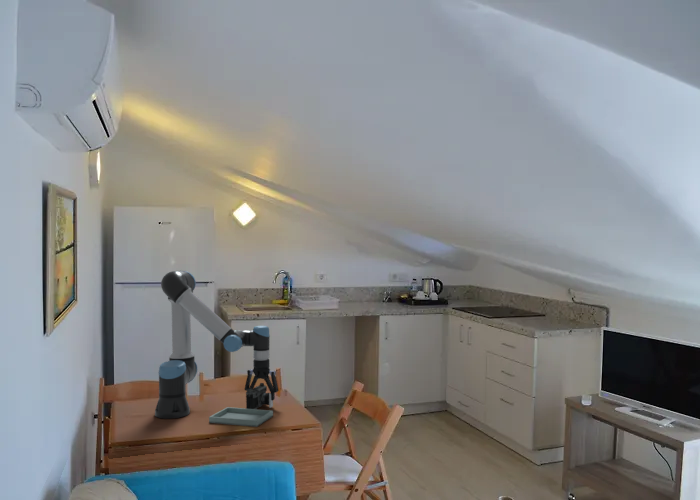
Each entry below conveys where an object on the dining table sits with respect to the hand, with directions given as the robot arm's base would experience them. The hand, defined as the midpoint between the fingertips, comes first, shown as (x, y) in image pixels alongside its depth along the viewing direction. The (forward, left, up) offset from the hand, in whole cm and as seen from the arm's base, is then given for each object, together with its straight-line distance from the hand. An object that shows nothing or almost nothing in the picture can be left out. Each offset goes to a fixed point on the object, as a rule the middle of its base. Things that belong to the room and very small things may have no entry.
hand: (261, 406), depth 280 cm
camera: (0, 0, -1) cm, 1 cm away
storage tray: (0, -21, 0) cm, 21 cm away
